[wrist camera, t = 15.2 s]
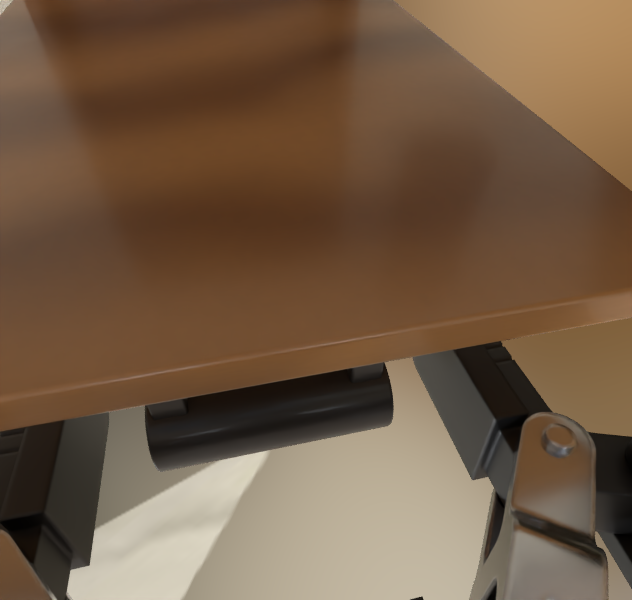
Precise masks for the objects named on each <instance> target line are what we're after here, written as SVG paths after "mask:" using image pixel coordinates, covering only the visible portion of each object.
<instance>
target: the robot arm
mask: <svg viewBox="0 0 632 600" xmlns="http://www.w3.org/2000/svg"><path fill="white" fill-rule="evenodd" d="M413 361H414V364H415V367H416V369H417V371H418V373H419V375H420V377H421V379H422V381H423V383H424V385H425V387H426V389H427V391H428V393H429V395H430V397H431V399H432V401H433V403H434V405H435V407H436V409H437V411H438V413H439V415H440V417H441V419H442V421H443V423H444V425H445V427H446V429H447V431H448V433H449V435H450V437H451V439H452V441H453V443H454V445H455V447H456V449H457V451H458V453H459V454H460V457H461V459H462V461H463V463H464V464H465V467H466V468H467V471H468V473H469V475H470V477H471V479H472V480H476V479H480V478H485V477H489V479H490V481H491V483H492V485H493V486H494V489H493V492H492V497H491V502H490V507H489V513H488V519H487V523H486V529H485V535H484V539H483V545H482V550H481V555H480V561H479V566H478V570H477V574H476V578H475V581H474V584H473V587H472V591H471V594H470V598H469V600H608V562H607V557H606V554H605V552H604V550H603V549H601V548H599V547H597V545H596V542H595V531H597V532H598V533H599V535H600V536H601V538H602V540H603V541H604V543H605V545H606V547H607V548H608V550H609V552H610V553H611V555H612V557H613V558H614V560H615V562H616V563H617V565H618V567H619V568H620V570H621V572H622V573H623V575H624V577H625V578H626V580H627V582H628V583H629V585H630V587H631V588H632V437H628V436H618V435H607V434H598V433H591V432H587V431H586V430H585V429H584V428H583V427H582V426H581V425H579V424H578V423H577V422H575V421H574V420H572V419H570V418H568V417H566V416H564V415H561V414H557V413H553V412H552V411H551V410H550V408H549V407H548V406H547V405H546V403H545V402H544V400H543V399H542V398H541V396H540V395H539V394H538V392H537V391H536V389H535V388H534V387H533V385H532V384H531V383H530V381H529V380H528V378H527V377H526V376H525V374H524V373H523V372H522V370H521V369H520V367H519V366H518V365H517V363H516V362H515V360H512V358H511V355H510V354H509V352H508V351H507V350H506V348H505V347H503V346H502V343H501V341H499V342H493V343H488V344H482V345H477V346H471V347H465V348H460V349H454V350H449V351H443V352H438V353H432V354H427V355H421V356H416V357H413ZM108 425H109V412H106V413H101V414H95V415H90V416H84V417H79V418H73V419H68V420H62V421H57V422H51V423H46V424H40V425H35V426H29V427H24V428H18V429H13V430H7V431H2V432H0V600H73V599H72V598H71V596H70V595H69V593H68V592H67V586H68V580H69V574H70V570H72V569H76V568H80V567H85V566H89V565H90V558H91V550H92V543H93V536H94V529H95V521H96V514H97V507H98V499H99V492H100V485H101V477H102V470H103V463H104V455H105V448H106V441H107V434H108V427H109V426H108ZM411 600H423V597H419V598H415V599H411Z"/></svg>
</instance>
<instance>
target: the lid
mask: <svg viewBox="0 0 632 600" xmlns="http://www.w3.org/2000/svg"><path fill="white" fill-rule="evenodd" d="M631 317H632V191H631V190H629V189H628V188H627V187H626V186H625V185H623V184H622V183H621V182H620V181H618V180H617V179H616V178H614V177H613V176H612V175H611V174H610V173H608V172H607V171H606V170H605V169H603V168H602V167H601V166H600V165H598V164H597V163H596V162H595V161H593V160H592V159H591V158H590V157H588V156H587V155H586V154H585V153H583V152H582V151H581V150H579V149H578V148H577V147H576V146H575V145H573V144H572V143H571V142H570V141H568V140H567V139H566V138H565V137H563V136H562V135H561V134H560V133H558V132H557V131H556V130H555V129H553V128H552V127H551V126H550V125H548V124H547V123H546V122H545V121H543V120H542V119H541V118H539V117H538V116H537V115H536V114H534V113H533V112H532V111H531V110H530V109H528V108H527V107H526V106H525V105H523V104H522V103H521V102H520V101H518V100H517V99H516V98H515V97H513V96H512V95H511V94H510V93H508V92H507V91H506V90H505V89H503V88H502V87H501V86H500V85H498V84H497V83H496V82H495V81H493V80H492V79H491V78H490V77H488V76H487V75H486V74H485V73H483V72H482V71H481V70H480V69H478V68H477V67H476V66H475V65H473V64H472V63H471V62H470V61H468V60H467V59H466V58H465V57H463V56H462V55H461V54H460V53H458V52H457V51H456V50H454V49H453V48H452V47H451V46H450V45H448V44H447V43H446V42H445V41H443V40H442V39H441V38H440V37H438V36H437V35H436V34H435V33H433V32H432V31H431V30H430V29H428V28H427V27H426V26H425V25H424V24H422V23H421V22H420V21H419V20H417V19H416V18H415V17H414V16H412V15H411V14H410V13H408V12H407V11H406V10H405V9H404V8H402V7H401V6H400V5H399V4H397V3H396V2H395V1H394V0H13V1H12V2H11V3H10V5H9V6H8V7H7V8H6V9H5V10H4V12H3V13H2V14H1V15H0V432H2V431H7V430H13V429H18V428H24V427H29V426H35V425H40V424H46V423H51V422H57V421H62V420H68V419H73V418H79V417H84V416H90V415H95V414H101V413H106V412H112V411H117V410H123V409H129V408H134V407H140V406H145V425H146V434H147V441H148V446H149V451H150V454H151V458H152V461H153V463H154V465H155V467H156V469H157V470H158V471H161V472H163V471H168V470H173V469H178V468H183V467H188V466H192V465H198V464H203V463H208V462H213V461H218V460H223V459H228V458H232V457H237V456H242V455H247V454H252V453H257V452H262V451H267V450H272V449H277V448H282V447H287V446H292V445H297V444H302V443H306V442H311V441H316V440H321V439H326V438H331V437H336V436H341V435H346V434H350V433H355V432H361V431H365V430H371V429H375V428H380V427H385V426H388V425H390V424H391V422H392V419H393V395H392V389H391V384H390V379H389V376H388V372H387V369H386V366H385V363H384V362H388V361H394V360H399V359H405V358H410V357H416V356H421V355H427V354H432V353H438V352H443V351H449V350H454V349H460V348H465V347H471V346H477V345H482V344H488V343H493V342H499V341H504V340H510V339H515V338H521V337H526V336H532V335H537V334H543V333H548V332H554V331H559V330H565V329H570V328H575V327H581V326H587V325H592V324H598V323H604V322H609V321H614V320H620V319H626V318H631Z"/></svg>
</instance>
